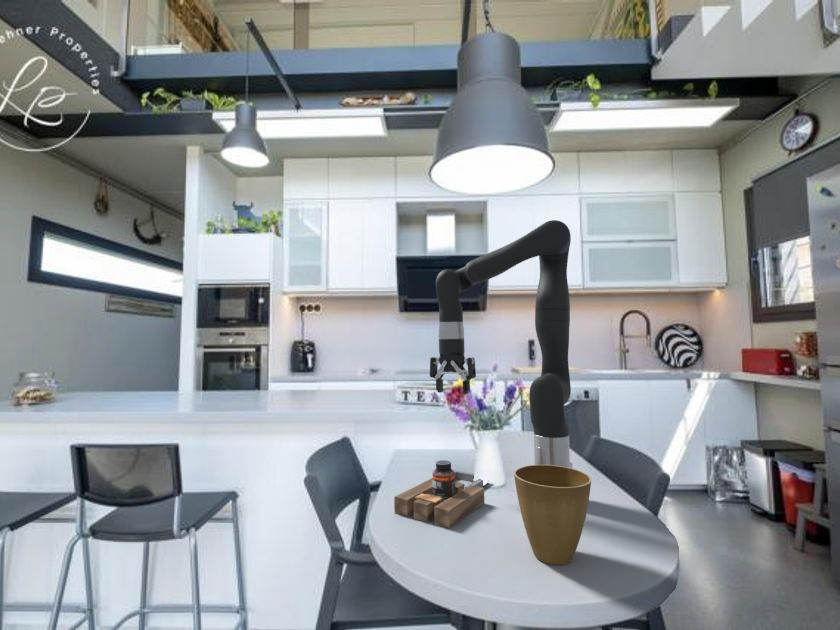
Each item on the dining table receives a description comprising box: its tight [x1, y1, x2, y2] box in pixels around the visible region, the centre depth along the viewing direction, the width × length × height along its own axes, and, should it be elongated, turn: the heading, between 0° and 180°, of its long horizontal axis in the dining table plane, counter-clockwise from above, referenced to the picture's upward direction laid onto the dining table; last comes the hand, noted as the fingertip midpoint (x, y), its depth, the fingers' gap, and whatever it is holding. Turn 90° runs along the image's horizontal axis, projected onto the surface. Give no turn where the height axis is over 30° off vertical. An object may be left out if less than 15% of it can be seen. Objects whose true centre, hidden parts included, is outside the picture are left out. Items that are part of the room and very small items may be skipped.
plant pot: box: [513, 464, 592, 566], centre depth 87 cm, size 15×15×16 cm
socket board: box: [393, 477, 485, 529], centre depth 111 cm, size 16×18×4 cm
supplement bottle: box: [432, 459, 456, 502], centre depth 113 cm, size 6×6×11 cm
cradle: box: [452, 469, 484, 489], centre depth 128 cm, size 12×12×2 cm
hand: (452, 392), depth 127 cm, fingers open, 8 cm apart
